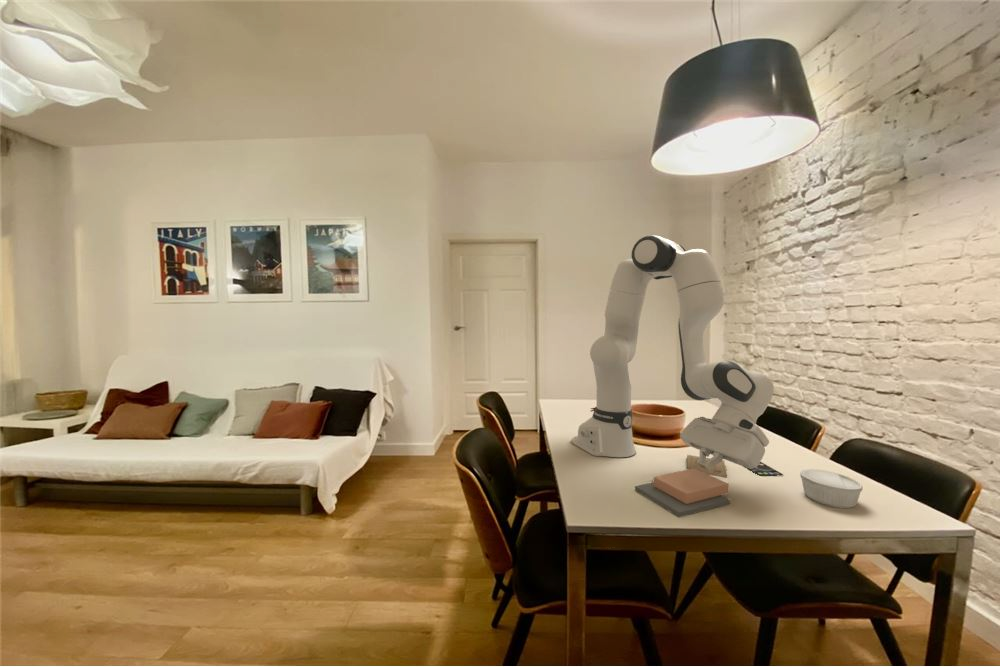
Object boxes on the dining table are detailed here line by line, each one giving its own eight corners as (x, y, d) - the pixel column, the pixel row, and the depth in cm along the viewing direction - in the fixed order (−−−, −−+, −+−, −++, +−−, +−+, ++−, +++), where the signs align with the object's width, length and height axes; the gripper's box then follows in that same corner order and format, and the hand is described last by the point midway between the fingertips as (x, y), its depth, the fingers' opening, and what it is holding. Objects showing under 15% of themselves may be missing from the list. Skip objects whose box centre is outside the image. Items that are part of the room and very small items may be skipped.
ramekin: (875, 511, 85) (876, 489, 84) (826, 511, 85) (826, 488, 85) (832, 489, 96) (833, 469, 96) (788, 488, 96) (789, 468, 96)
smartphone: (758, 475, 104) (726, 455, 119) (758, 477, 104) (726, 457, 119) (785, 475, 104) (749, 455, 119) (785, 477, 104) (749, 457, 119)
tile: (693, 477, 100) (653, 486, 95) (693, 468, 100) (653, 476, 95) (728, 494, 91) (686, 504, 86) (728, 483, 91) (686, 493, 86)
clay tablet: (728, 481, 102) (728, 471, 102) (686, 474, 106) (687, 465, 106) (723, 463, 115) (723, 454, 115) (686, 457, 119) (686, 449, 119)
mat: (635, 489, 95) (635, 486, 95) (681, 479, 101) (681, 476, 101) (679, 516, 82) (679, 512, 82) (729, 503, 88) (730, 499, 88)
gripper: (691, 408, 106) (664, 446, 103) (764, 428, 87) (734, 475, 84) (702, 422, 108) (676, 459, 105) (776, 444, 89) (747, 491, 86)
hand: (702, 466), depth 94 cm, fingers closed
